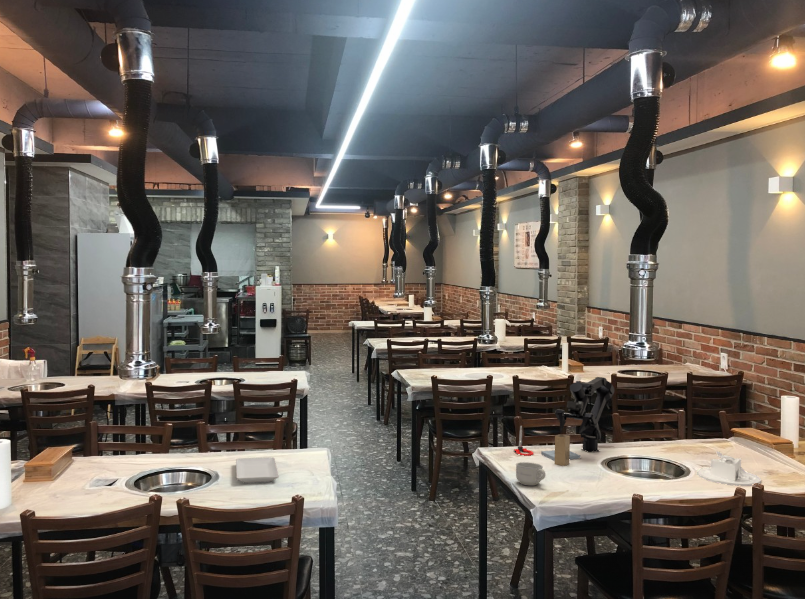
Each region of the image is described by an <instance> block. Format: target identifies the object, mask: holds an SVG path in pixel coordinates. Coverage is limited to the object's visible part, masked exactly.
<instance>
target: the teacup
mask: <svg viewBox="0 0 805 599" xmlns="http://www.w3.org/2000/svg"><path fill="white" fill-rule="evenodd" d="M515 465H516V466H515V477H516V480H517V481H518V482H519V483H520V484H521V485H523V486H528V487H529V486H536V485H538V484H539V483H541V482H542V481H543V480H544V479H545V478H546V471H545V469H543V465H542V464H540V463H534V462H529V461H528V462H525V461H521V462H516V464H515Z"/></svg>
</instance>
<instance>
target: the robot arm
mask: <svg viewBox="0 0 805 599" xmlns="http://www.w3.org/2000/svg"><path fill="white" fill-rule="evenodd" d="M569 390H570V393H571V395H572V396H573V398H574V401H573V400H572V401H571V400H567V403H566V408H567V409H568V412H566V411H565V409H560V408H557V409H555V411H554V415H555V417H556V419H557V421H559V431H561V432H562V431H563V428H564V427H565V425H566V422H567V421H566V420H567V418H568V419H574V420H580V421H581V424H580V427H579V429H578V434H579V435H580V438H583V439H582V440H583V441H582V448H583V450H582V451H585V450H586V451H585V452H587V451H588V452H587V453H593V452H592V451H597V452H600V451H599V450H600V449H598V447H599V446H598V445H599V441H600V440H601V438H602V433H601V431H600V426H599V421H600V418H601V416H602V413H603V410H604V408H605V405H606V402H608V401H609V400H611V399H612V397H613V395H614V394H615V387H614V386H613V384H612V383H611V382H610V381H608V380H607V378H606V377H603V376H602V377H601V376H596V377H595V378H593V379H592V380H590V381H588V382H584V381H583V382H581V381H578V380H576V381H575V382H574V383H572V384H570V385H569ZM594 394H596V399H595V401H594V404H593V406H592V409H591V410H590V412H589V413H588V412H586V407H587V405H588V404H589V403H590V401H589V397H588V396H593V395H594ZM583 414H584V415H583Z"/></svg>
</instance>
